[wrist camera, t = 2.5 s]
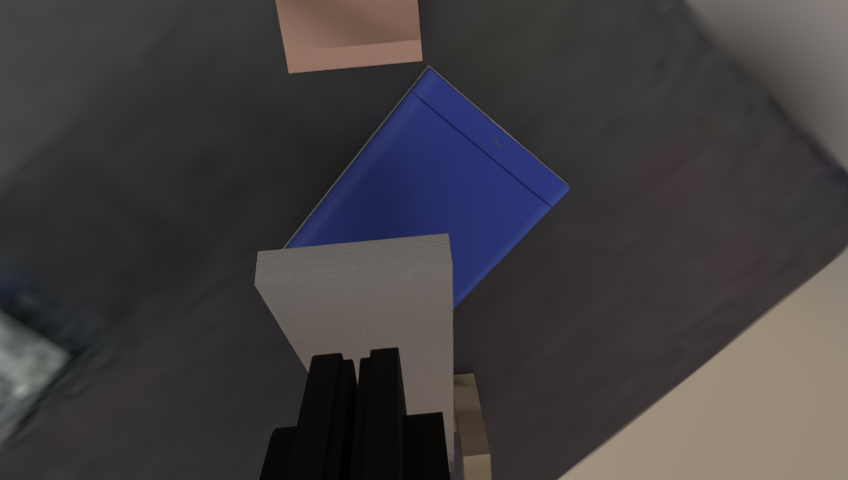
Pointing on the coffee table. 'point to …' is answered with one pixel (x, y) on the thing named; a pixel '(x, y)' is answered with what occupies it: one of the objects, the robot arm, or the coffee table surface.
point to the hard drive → (438, 184)
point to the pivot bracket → (470, 429)
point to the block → (348, 33)
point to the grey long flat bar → (371, 309)
